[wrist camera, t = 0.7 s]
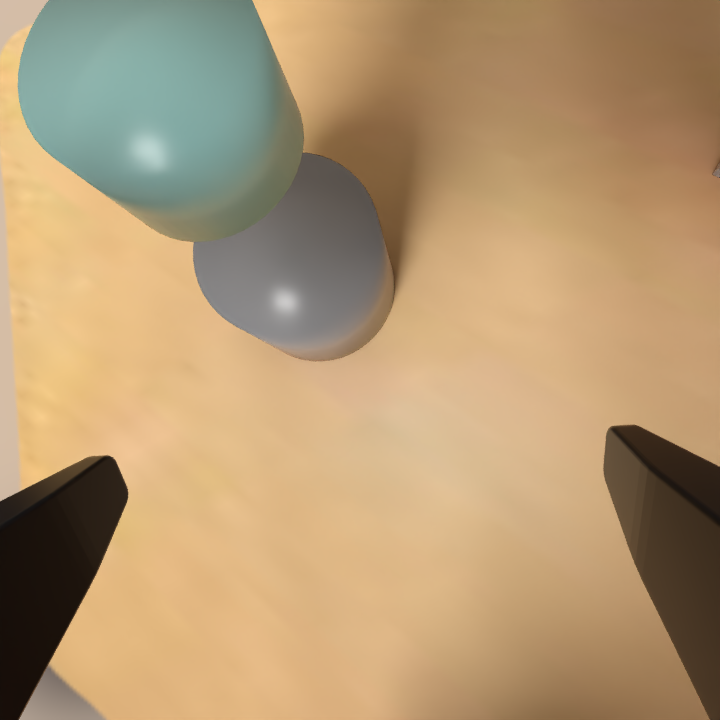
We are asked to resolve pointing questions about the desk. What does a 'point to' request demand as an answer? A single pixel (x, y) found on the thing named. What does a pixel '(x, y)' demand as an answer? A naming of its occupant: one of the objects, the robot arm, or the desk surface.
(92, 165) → the pump head
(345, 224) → the grey rounded lump
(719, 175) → the perfume bottle
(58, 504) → the robot arm
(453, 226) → the desk surface
